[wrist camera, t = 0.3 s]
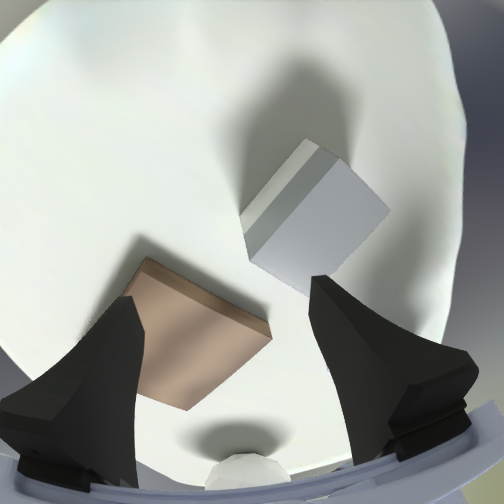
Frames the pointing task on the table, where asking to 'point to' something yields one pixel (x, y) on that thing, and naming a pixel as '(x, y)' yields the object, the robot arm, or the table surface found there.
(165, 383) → the walnut stand
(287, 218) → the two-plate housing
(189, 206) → the table surface
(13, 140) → the table surface
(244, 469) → the geodesic sphere
